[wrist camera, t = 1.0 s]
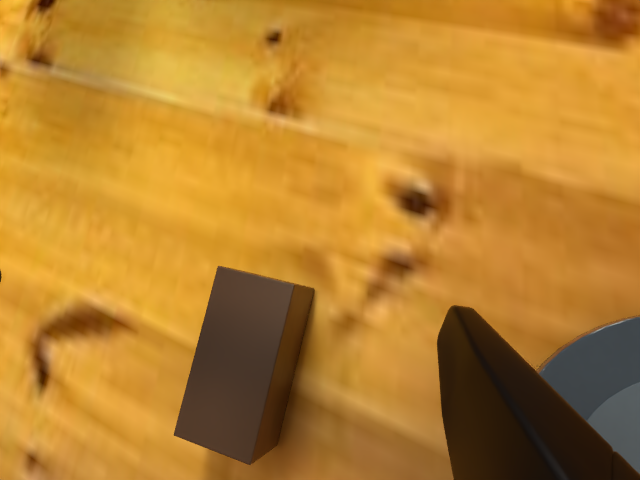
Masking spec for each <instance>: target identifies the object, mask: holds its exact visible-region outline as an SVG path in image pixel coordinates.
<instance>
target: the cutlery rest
mask: <svg viewBox="0 0 640 480" xmlns="http://www.w3.org/2000/svg"><path fill="white" fill-rule="evenodd" d="M313 293H314V288H310V287H306V286H302V285H298V284H294V283H290V282H286V281H282V280H278V279H274V278H269V277H265V276H261V275H257V274H253V273H249V272H245V271H240V270H236V269H231V268H226V267H222V266H218V268H217V272H216V276H215V279H214V283H213V287H212V291H211V295H210V298H209V302H208V306H207V310H206V314H205V317H204V321H203V325H202V329H201V333H200V336H199V340H198V344H197V348H196V352H195V356H194V359H193V363H192V367H191V371H190V375H189V378H188V382H187V386H186V390H185V394H184V397H183V401H182V405H181V409H180V413H179V416H178V420H177V424H176V428H175V432H174V436H177V437H180V438H182V439H185V440H187V441H190V442H192V443H195V444H197V445H200V446H203V447H205V448H208V449H210V450H213V451H215V452H218V453H220V454H223V455H226V456H228V457H231V458H233V459H236V460H238V461H241V462H244V463H246V464H249V465H251V464H252V463H254V462H255V461H256V460H258V459H259V458H260V457H262V456H263V455H264V454H266V453H267V452H269V451H270V450H271V449H273V448H274V447H275V446H277V443H278V439H279V435H280V431H281V427H282V422H283V418H284V414H285V410H286V406H287V402H288V397H289V393H290V389H291V385H292V381H293V377H294V372H295V368H296V364H297V360H298V356H299V352H300V347H301V343H302V339H303V335H304V331H305V327H306V322H307V318H308V314H309V310H310V306H311V302H312V297H313Z"/></svg>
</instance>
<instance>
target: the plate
mask: <svg viewBox="0 0 640 480" xmlns="http://www.w3.org/2000/svg"><path fill="white" fill-rule="evenodd" d="M536 372H537V373H538V374H539V375H540V376H541V377H542V378H543V379H544V380H545V381H546V382H547V383H548V384H549V385H550V386H551V387H552V388H553V389H554V390H555V391H556V392H557V393H558V394H559V395H560V396H561V397H562V398H563V399H564V400H565V401H566V402H567V403H568V404H569V405H570V406H571V407H572V408H573V409H574V410H575V411H576V412H577V413H578V414H579V415H580V416H581V417H582V418H584V419H585V420H586V421H587V422H588V423H589V424H590V425H591V426H592V427H593V428H594V429H595V430H596V431H597V432H598V433H599V434H600V435H601V436H602V437H603V438H604V439H605V440H606V441H607V442H608V443H609V444H610V445H611V446H612V448H613V451H616V452H618V453H619V454H620V455H621V456H622V457H623V458H624V459H625V460H626V461H627V462H628V463H629V464H630V465H631V466H632V467H633V468H634V469H635V470H636V471H637V472H638V473H639V474H640V315H638V316H633V317H628V318H623V319H619V320H616V321H613V322H610V323H607V324H604V325H601V326H598V327H596V328H594V329H592V330H590V331H588V332H586V333H584V334H581V335H579V336H577V337H576V338H574V339H573V340H571V341H570V342H568V343H567V344H565V345H564V346H562V347H561V348H559V349H558V350H557V351H556V352H555V353H554V354H552V355H551V356H550V357H549V358H548V359H547V360H546V361H545V362H544V363H542V365H541V366H540V367H539V368H538V369H537V371H536Z"/></svg>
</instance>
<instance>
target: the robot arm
mask: <svg viewBox="0 0 640 480" xmlns="http://www.w3.org/2000/svg"><path fill="white" fill-rule="evenodd" d="M0 282H1V271H0ZM437 350H438V365H439V380H440V394H441V407H442V417H443V423H444V429H445V435H446V440H447V445H448V451H449V456H450V461H451V467H452V472H453V478H454V480H640V474H639V473H638V472H637V471H636V470H635V469H634V468H633V467H632V466H631V465H630V464H629V463H628V462H627V461H626V460H625V459H624V458H623V457H622V456H621V455H620V454H619V453H618V452H616V451H613V448H612V446H611V445H610V444H609V443H608V442H607V441H606V440H605V439H604V438H603V437H602V436H601V435H600V434H599V433H598V432H597V431H596V430H595V429H594V428H593V427H592V426H591V425H590V424H589V423H588V422H587V421H586V420H585V419H584V418H582V417H581V416H580V415H579V414H578V413H577V412H576V411H575V410H574V409H573V408H572V407H571V406H570V405H569V404H568V403H567V402H566V401H565V400H564V399H563V398H562V397H561V396H560V395H559V394H558V393H557V392H556V391H555V390H554V389H553V388H552V387H551V386H550V385H549V384H548V383H547V382H546V381H545V380H544V379H543V378H542V377H541V376H540V375H539V374H538V373H537V372H536V371H535V370H534V369H533V368H532V367H531V366H530V365H529V364H528V363H527V362H526V361H525V360H524V359H523V358H522V357H521V356H520V355H519V354H518V353H517V352H516V351H515V350H514V349H513V348H512V347H511V346H510V345H509V344H508V343H507V342H506V341H505V340H504V339H503V338H502V337H501V336H500V335H499V334H498V333H497V332H496V331H495V330H494V329H493V328H492V327H491V326H490V325H489V324H488V323H487V322H486V321H485V320H484V319H483V318H482V317H481V316H480V315H479V314H478V313H477V312H476V311H475V310H474V309H472V308H470V307H463V306H456V305H454V306H451V307H450V309H449V310H448V312H447V315H446V317H445V320H444V322H443V324H442V327H441V329H440V332H439V335H438V340H437Z"/></svg>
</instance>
